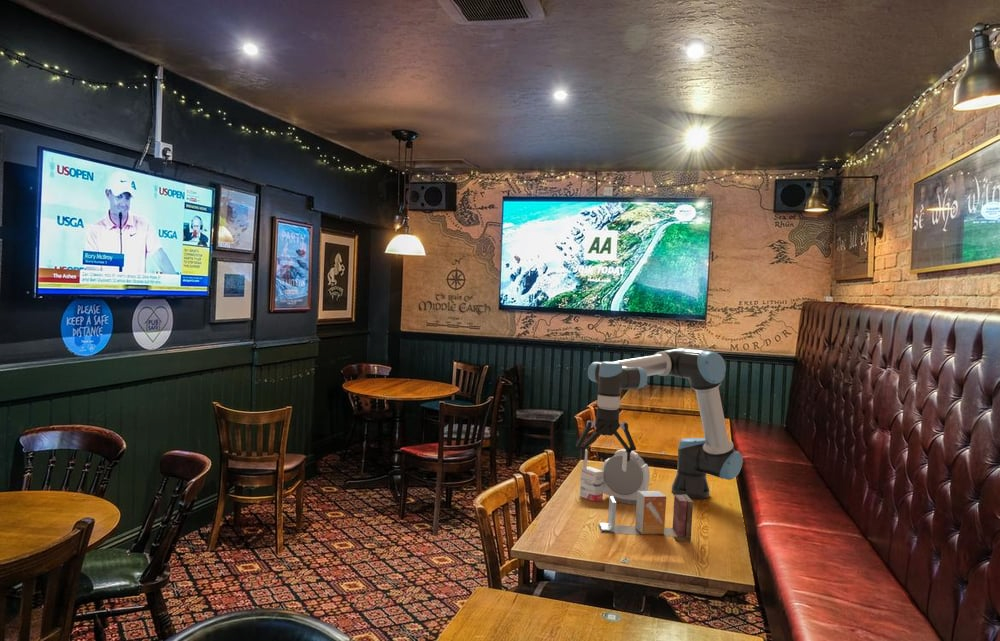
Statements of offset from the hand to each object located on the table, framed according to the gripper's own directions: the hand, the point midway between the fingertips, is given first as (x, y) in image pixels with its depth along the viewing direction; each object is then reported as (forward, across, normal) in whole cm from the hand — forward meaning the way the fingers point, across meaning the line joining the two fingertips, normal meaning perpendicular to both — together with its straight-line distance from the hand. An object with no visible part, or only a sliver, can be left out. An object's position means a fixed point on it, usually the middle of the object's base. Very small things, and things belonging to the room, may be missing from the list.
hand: (604, 469), depth 220 cm
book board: (+22, -15, +1) cm, 26 cm away
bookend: (+20, -2, 0) cm, 20 cm away
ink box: (+22, -5, -37) cm, 43 cm away
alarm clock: (+22, -18, -35) cm, 45 cm away
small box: (+20, -17, +1) cm, 26 cm away
